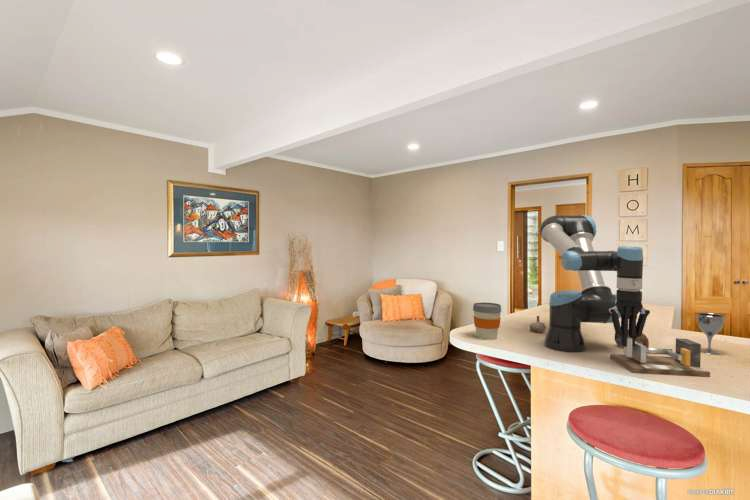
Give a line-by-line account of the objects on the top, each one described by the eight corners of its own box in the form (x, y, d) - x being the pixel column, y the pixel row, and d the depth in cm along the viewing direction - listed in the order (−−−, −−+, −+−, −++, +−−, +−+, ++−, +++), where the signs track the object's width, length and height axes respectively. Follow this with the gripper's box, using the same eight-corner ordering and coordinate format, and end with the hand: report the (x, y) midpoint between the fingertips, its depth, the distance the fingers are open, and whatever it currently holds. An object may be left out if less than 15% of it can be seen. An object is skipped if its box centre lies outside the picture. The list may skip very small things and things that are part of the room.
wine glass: (690, 349, 151) (691, 312, 151) (708, 348, 152) (709, 312, 152) (710, 355, 144) (711, 316, 143) (728, 354, 144) (729, 316, 144)
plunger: (645, 365, 124) (646, 348, 124) (628, 355, 135) (628, 340, 135) (684, 367, 122) (684, 350, 122) (663, 356, 133) (664, 341, 133)
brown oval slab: (613, 345, 157) (614, 325, 157) (620, 345, 157) (620, 325, 157) (642, 356, 142) (643, 334, 142) (650, 356, 142) (650, 334, 142)
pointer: (686, 365, 122) (686, 350, 122) (680, 362, 125) (680, 348, 125) (690, 365, 122) (690, 350, 122) (684, 362, 125) (684, 348, 125)
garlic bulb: (544, 334, 176) (544, 317, 176) (527, 332, 180) (528, 315, 180) (546, 331, 182) (546, 315, 182) (530, 329, 186) (531, 313, 186)
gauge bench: (632, 372, 124) (633, 344, 124) (610, 357, 140) (610, 333, 140) (709, 376, 120) (710, 348, 120) (678, 361, 136) (678, 335, 136)
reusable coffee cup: (471, 333, 177) (471, 302, 177) (498, 334, 176) (498, 302, 175) (474, 340, 165) (474, 306, 165) (503, 341, 163) (504, 307, 163)
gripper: (614, 290, 128) (613, 358, 129) (655, 291, 126) (654, 360, 127) (604, 288, 136) (603, 351, 136) (643, 288, 134) (641, 353, 134)
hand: (627, 355), depth 131 cm, fingers closed
